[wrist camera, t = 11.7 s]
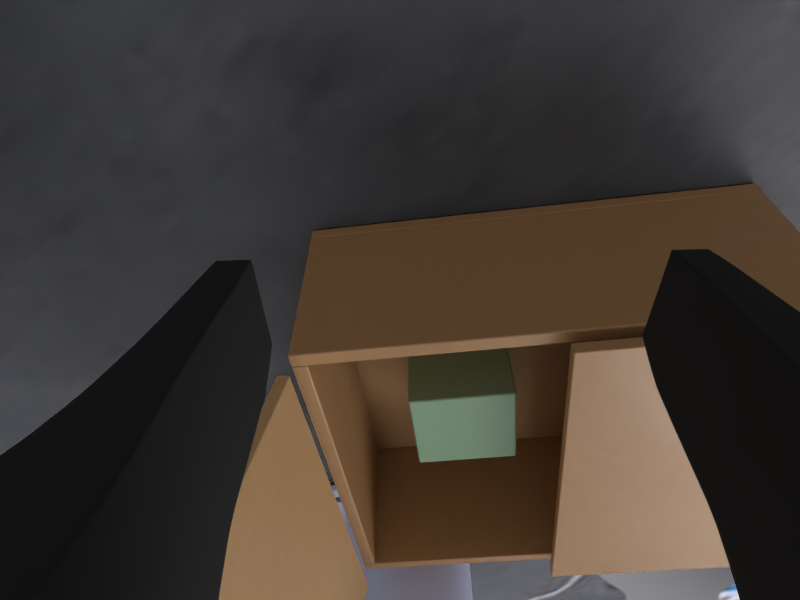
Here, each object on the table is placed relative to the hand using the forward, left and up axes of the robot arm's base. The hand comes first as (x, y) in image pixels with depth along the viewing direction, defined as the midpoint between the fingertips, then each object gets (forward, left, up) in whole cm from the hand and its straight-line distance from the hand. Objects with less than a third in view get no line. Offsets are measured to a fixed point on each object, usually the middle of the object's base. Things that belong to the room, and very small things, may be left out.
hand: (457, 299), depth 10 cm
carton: (-12, -3, -10) cm, 16 cm away
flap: (-12, +6, +1) cm, 13 cm away
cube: (-12, 0, -10) cm, 16 cm away
